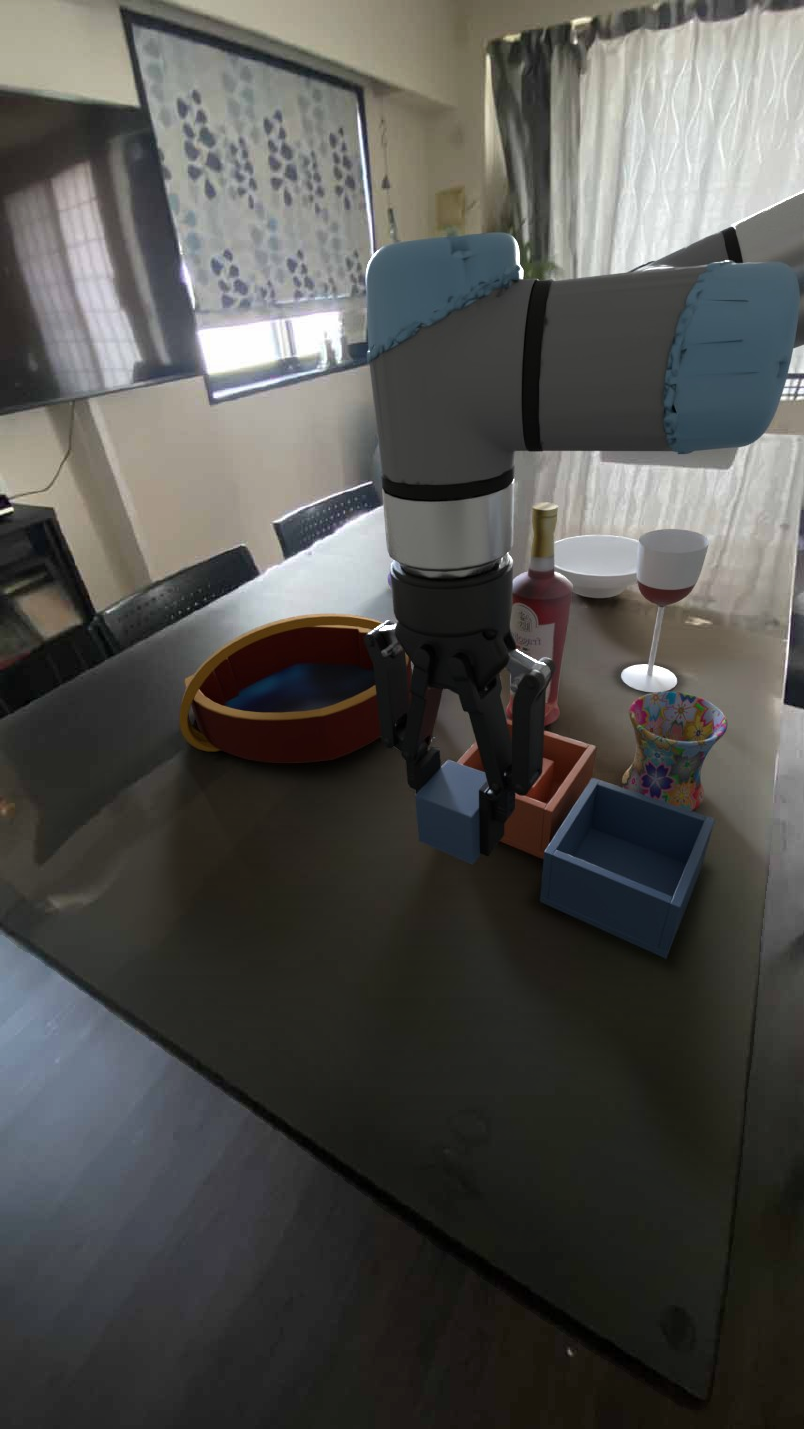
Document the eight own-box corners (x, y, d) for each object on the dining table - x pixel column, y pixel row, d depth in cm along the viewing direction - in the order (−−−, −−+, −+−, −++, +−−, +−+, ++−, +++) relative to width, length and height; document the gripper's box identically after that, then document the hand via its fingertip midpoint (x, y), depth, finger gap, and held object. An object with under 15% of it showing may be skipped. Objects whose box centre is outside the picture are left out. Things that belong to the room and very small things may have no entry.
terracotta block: (551, 796, 71) (554, 761, 68) (531, 823, 68) (533, 788, 65) (510, 781, 73) (511, 746, 71) (489, 806, 70) (490, 771, 67)
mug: (708, 829, 66) (732, 749, 60) (615, 815, 69) (628, 736, 63) (701, 758, 76) (721, 682, 69) (619, 748, 78) (631, 674, 72)
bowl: (522, 580, 121) (523, 545, 117) (612, 562, 125) (617, 528, 121) (576, 623, 106) (580, 584, 102) (677, 600, 110) (684, 562, 106)
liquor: (571, 716, 84) (593, 502, 68) (539, 742, 80) (554, 521, 64) (525, 697, 89) (536, 492, 73) (493, 721, 85) (496, 509, 69)
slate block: (502, 825, 52) (503, 778, 50) (472, 865, 49) (471, 817, 46) (450, 804, 55) (447, 759, 52) (418, 841, 52) (414, 795, 49)
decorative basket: (413, 664, 103) (402, 572, 96) (465, 748, 77) (455, 629, 70) (199, 703, 98) (172, 610, 92) (178, 806, 72) (138, 686, 66)
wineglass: (689, 674, 91) (720, 536, 79) (661, 700, 86) (690, 558, 74) (637, 657, 95) (658, 524, 84) (607, 681, 90) (626, 544, 79)
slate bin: (700, 869, 62) (715, 818, 58) (666, 959, 55) (680, 907, 51) (585, 826, 68) (592, 777, 64) (539, 901, 60) (544, 851, 56)
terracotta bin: (590, 794, 72) (596, 746, 68) (547, 861, 64) (552, 812, 60) (497, 762, 78) (498, 716, 74) (448, 820, 70) (446, 772, 66)
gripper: (619, 554, 37) (585, 842, 50) (368, 519, 46) (396, 770, 59) (568, 606, 32) (545, 910, 45) (298, 554, 41) (345, 820, 54)
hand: (460, 830), depth 52 cm, fingers closed on slate block, 5 cm apart
